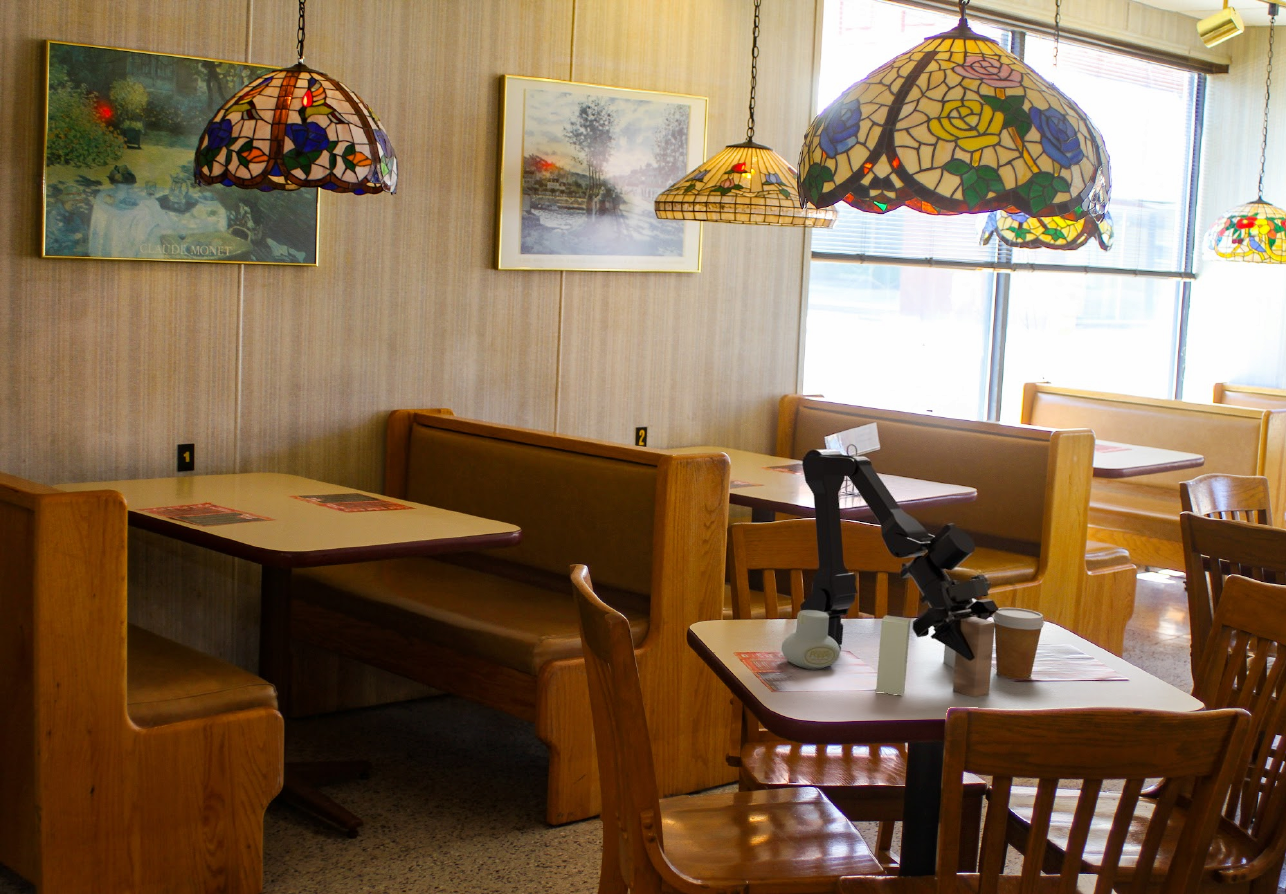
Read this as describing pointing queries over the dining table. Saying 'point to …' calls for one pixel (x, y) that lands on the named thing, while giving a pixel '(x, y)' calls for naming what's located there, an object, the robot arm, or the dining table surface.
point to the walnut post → (975, 658)
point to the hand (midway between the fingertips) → (980, 657)
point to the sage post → (893, 655)
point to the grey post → (950, 653)
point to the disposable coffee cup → (1016, 641)
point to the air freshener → (811, 642)
